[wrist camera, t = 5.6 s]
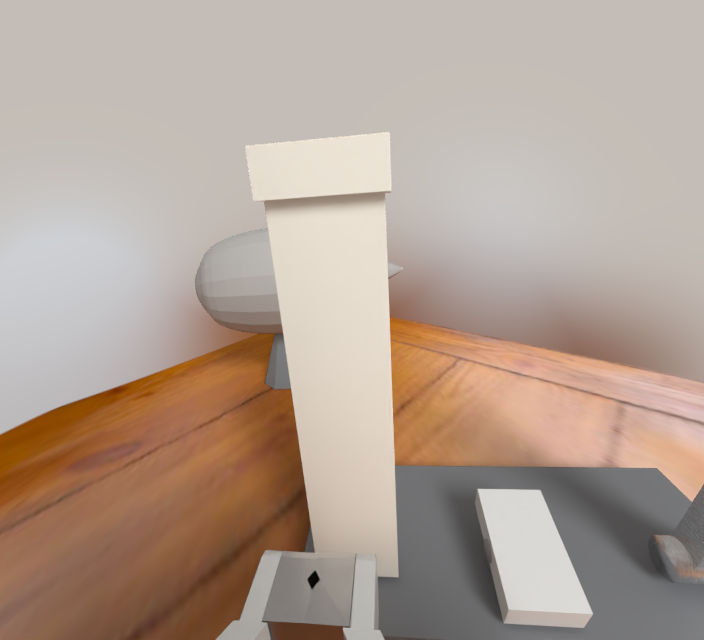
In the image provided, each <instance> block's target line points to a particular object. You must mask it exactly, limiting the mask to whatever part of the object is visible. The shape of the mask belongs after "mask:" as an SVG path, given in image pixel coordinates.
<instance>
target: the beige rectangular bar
mask: <svg viewBox="0 0 704 640" xmlns="http://www.w3.org/2000/svg"><path fill="white" fill-rule="evenodd" d="M245 150H246V157H247V163H248V170H249V176H250V183H251V189H252V196H253V201H264V204H265V211H266V218H267V224H268V231H269V238H270V245H271V252H272V259H273V266H274V273H275V280H276V287H277V294H278V301H279V308H280V315H281V322H282V328H283V335H284V342H285V349H286V356H287V363H288V370H289V377H290V384H291V391H292V398H293V405H294V412H295V419H296V425H297V432H298V439H299V446H300V453H301V460H302V467H303V474H304V481H305V488H306V495H307V502H308V509H309V516H310V522H311V529H312V536H313V543H314V550H315V553H320V552H321V553H357V554H376V557H377V574H378V576H379V577H399V572H398V544H397V516H396V488H395V460H394V432H393V404H392V376H391V348H390V320H389V293H388V264H387V238H386V237H387V236H386V208H385V193H390V192H391V159H390V158H391V157H390V132H385V133H375V134H366V135H365V134H364V135H354V136H343V137H333V138H322V139H313V140H302V141H291V142H280V143H271V144H259V145H249V146H245Z"/></svg>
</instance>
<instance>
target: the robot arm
mask: <svg viewBox="0 0 704 640" xmlns="http://www.w3.org/2000/svg"><path fill="white" fill-rule="evenodd" d="M378 627H379V600H378V574H377V557H376V554H357V553H321V552H320V553H310V552H293V551H278V550H265V552H264V554H263V555H262V557H261V559H260V562H259V565H258V568H257V571H256V574H255V577H254V579H253V582H252V585H251V588H250V591H249V594H248V596H247V599H246V602H245V605H244V608H243V611H242V613H241V616H240V619H239V620H233V621H232V622H231V623H230V624H229V625H228V627H227V628H226V629H225V630H224V631H223V632H222V633H221V634H220V635H219V636H218V637H217V638H216V639H215V640H385V639H384V637H383V635H382V633H381V631H380V630H378Z"/></svg>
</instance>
